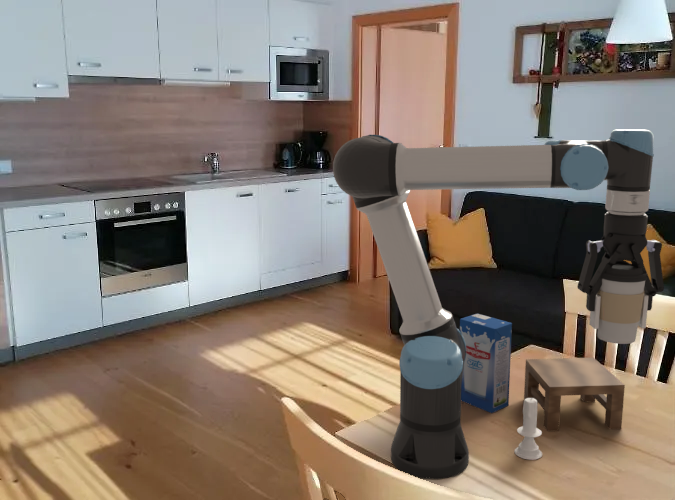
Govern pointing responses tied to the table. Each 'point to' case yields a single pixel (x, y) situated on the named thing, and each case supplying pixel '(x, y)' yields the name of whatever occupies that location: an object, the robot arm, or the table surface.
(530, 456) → the candle
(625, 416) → the table surface
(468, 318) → the milk carton
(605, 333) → the coffee cup
